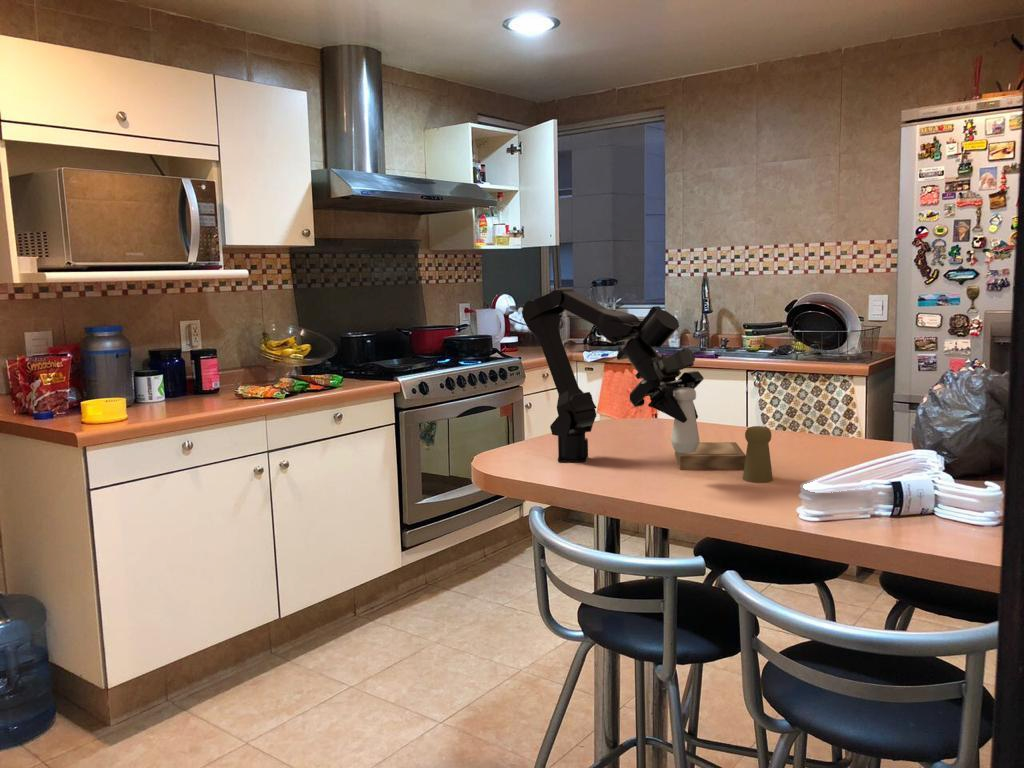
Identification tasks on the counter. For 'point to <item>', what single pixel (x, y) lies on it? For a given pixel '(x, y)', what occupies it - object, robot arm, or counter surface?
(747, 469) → the pepper shaker
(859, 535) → the counter surface
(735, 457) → the base board
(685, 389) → the salt shaker
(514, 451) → the counter surface
